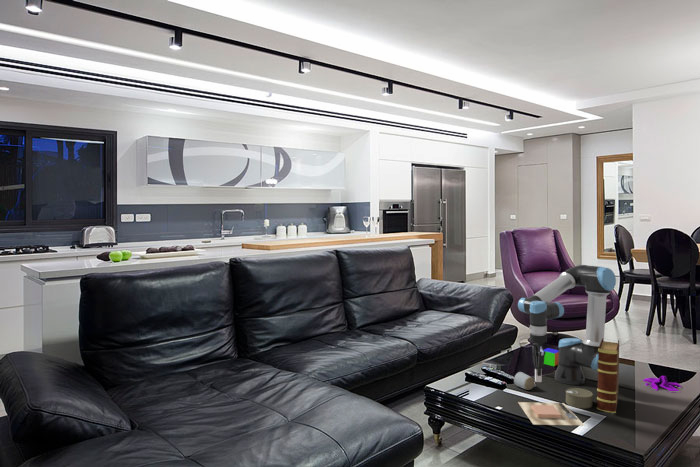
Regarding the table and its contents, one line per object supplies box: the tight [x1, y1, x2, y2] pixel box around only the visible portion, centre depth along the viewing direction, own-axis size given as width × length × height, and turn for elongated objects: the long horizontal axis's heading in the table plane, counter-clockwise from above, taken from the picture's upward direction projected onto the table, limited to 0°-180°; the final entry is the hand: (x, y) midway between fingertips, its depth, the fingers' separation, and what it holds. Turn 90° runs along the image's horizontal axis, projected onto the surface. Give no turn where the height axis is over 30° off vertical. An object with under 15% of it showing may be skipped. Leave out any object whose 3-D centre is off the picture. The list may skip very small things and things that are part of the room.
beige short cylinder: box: [564, 387, 594, 409], centre depth 233 cm, size 12×12×7 cm
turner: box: [558, 402, 578, 419], centre depth 224 cm, size 4×16×1 cm, turn 176°
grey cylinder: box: [513, 371, 537, 391], centre depth 257 cm, size 11×8×8 cm
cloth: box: [642, 375, 682, 392], centre depth 258 cm, size 22×19×6 cm
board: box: [517, 401, 585, 427], centre depth 222 cm, size 22×24×1 cm
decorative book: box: [596, 339, 620, 414], centre depth 232 cm, size 22×8×30 cm, turn 148°
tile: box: [531, 405, 561, 419], centre depth 221 cm, size 10×2×10 cm
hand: (538, 381), depth 233 cm, fingers closed
